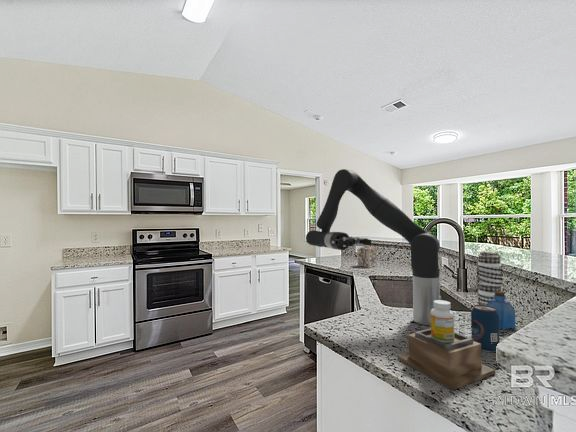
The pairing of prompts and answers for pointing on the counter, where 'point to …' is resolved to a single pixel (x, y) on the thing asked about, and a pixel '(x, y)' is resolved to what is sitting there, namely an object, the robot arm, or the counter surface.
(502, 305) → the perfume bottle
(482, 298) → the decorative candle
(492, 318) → the soda can
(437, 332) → the supplement bottle
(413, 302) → the robot arm
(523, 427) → the counter surface
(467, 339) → the display pedestal
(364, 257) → the decorative jar
